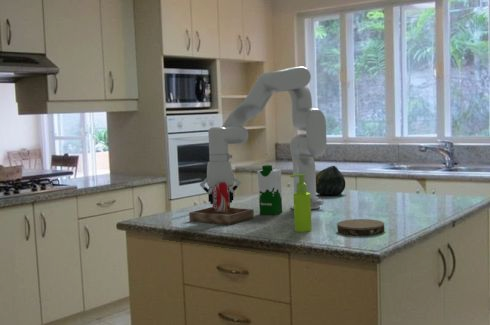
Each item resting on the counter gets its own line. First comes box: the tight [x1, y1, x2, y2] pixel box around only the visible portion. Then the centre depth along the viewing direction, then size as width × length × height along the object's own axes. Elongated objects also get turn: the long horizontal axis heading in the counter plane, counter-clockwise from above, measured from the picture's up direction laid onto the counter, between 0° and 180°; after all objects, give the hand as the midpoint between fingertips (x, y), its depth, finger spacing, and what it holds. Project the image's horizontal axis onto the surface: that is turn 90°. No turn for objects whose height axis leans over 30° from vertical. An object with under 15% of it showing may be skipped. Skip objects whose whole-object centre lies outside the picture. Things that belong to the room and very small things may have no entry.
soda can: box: [211, 181, 231, 212], centre depth 246 cm, size 7×7×12 cm
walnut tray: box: [188, 206, 255, 226], centre depth 247 cm, size 20×16×4 cm
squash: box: [315, 165, 346, 196], centre depth 300 cm, size 14×15×15 cm
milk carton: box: [256, 164, 283, 216], centre depth 256 cm, size 9×9×20 cm
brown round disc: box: [336, 218, 385, 237], centre depth 214 cm, size 16×16×3 cm
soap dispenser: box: [289, 174, 312, 233], centre depth 218 cm, size 6×7×20 cm
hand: (221, 202), depth 246 cm, fingers closed on soda can, 7 cm apart
